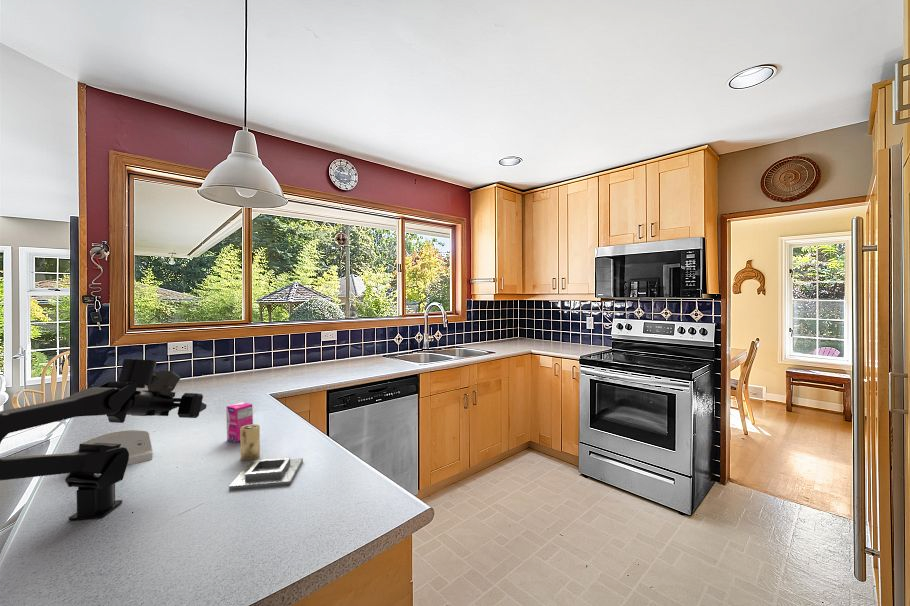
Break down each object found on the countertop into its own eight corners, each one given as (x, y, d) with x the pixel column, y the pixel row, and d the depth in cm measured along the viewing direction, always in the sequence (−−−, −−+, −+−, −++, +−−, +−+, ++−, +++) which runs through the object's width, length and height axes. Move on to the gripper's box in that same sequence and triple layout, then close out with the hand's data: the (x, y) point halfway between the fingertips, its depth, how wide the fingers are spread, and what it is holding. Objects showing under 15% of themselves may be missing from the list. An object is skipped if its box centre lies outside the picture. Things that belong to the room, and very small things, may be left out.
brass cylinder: (256, 460, 111) (256, 429, 111) (237, 461, 110) (237, 430, 110) (262, 453, 116) (261, 423, 116) (244, 454, 115) (244, 424, 115)
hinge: (73, 476, 102) (74, 437, 104) (75, 476, 105) (76, 439, 108) (153, 459, 112) (152, 424, 115) (153, 459, 116) (152, 425, 118)
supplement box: (226, 440, 127) (225, 405, 127) (243, 434, 132) (242, 401, 132) (236, 443, 124) (236, 408, 124) (254, 437, 129) (253, 403, 129)
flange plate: (289, 485, 96) (289, 475, 96) (229, 490, 93) (228, 480, 93) (302, 461, 109) (302, 453, 109) (250, 465, 107) (250, 456, 107)
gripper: (183, 370, 96) (227, 378, 111) (118, 369, 99) (170, 376, 113) (171, 417, 93) (218, 418, 107) (105, 414, 95) (159, 416, 110)
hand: (191, 406), depth 110 cm, fingers open, 9 cm apart
